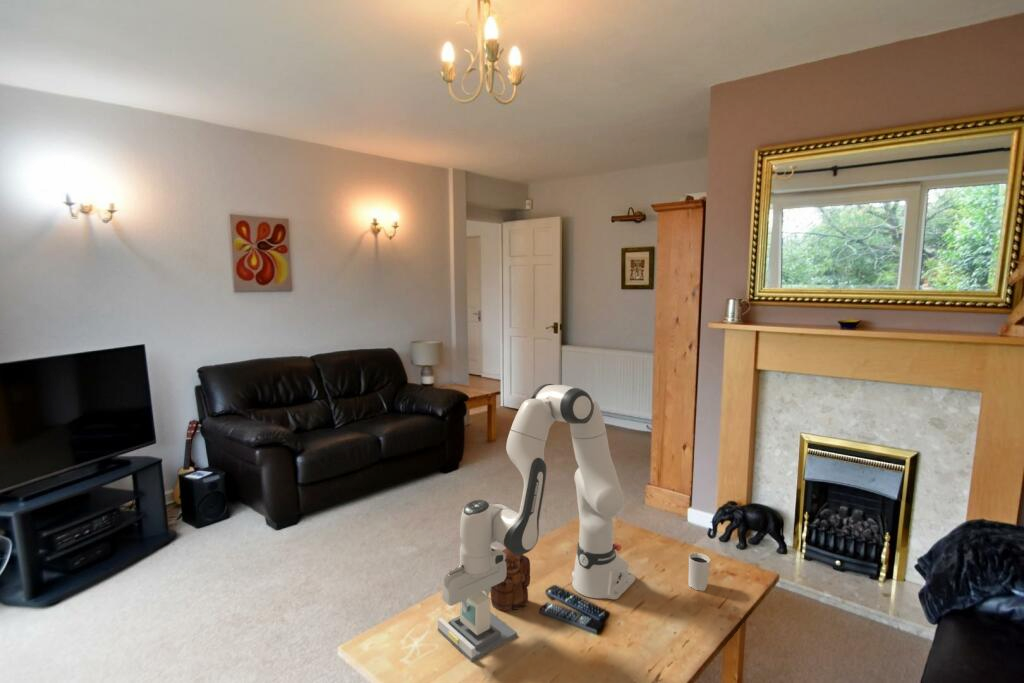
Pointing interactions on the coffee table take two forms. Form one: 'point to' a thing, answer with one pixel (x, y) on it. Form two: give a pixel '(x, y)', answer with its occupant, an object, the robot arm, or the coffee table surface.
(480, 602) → the product carton
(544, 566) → the coffee table surface
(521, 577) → the wooden figurine
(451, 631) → the display base
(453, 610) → the coffee table surface
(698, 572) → the white cup
